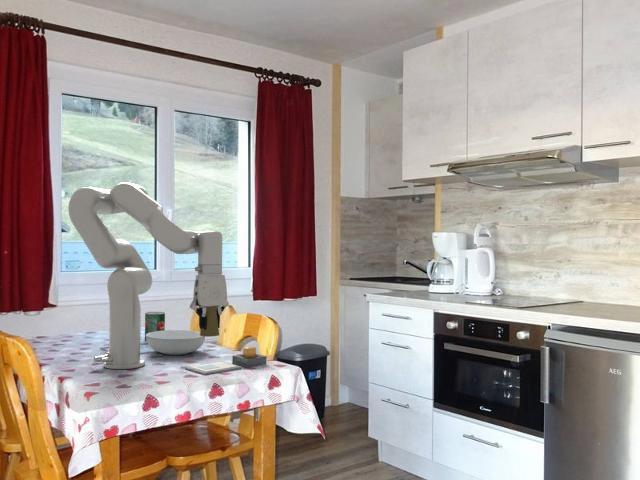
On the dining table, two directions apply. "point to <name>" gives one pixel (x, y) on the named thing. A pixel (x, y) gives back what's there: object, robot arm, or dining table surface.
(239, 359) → the button housing
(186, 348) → the serving bowl
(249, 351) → the button
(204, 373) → the board
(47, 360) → the dining table surface
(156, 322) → the canned tomato
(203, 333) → the cork
